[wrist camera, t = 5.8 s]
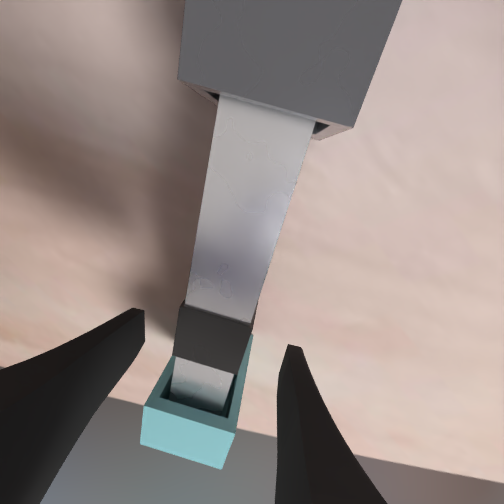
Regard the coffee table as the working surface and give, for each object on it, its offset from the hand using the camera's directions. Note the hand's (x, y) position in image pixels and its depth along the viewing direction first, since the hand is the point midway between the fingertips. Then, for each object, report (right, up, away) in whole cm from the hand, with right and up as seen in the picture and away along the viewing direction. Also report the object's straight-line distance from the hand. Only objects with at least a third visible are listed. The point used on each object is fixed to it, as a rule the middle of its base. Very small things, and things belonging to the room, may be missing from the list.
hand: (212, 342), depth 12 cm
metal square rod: (+1, +5, +1) cm, 5 cm away
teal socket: (-1, -3, +7) cm, 8 cm away
